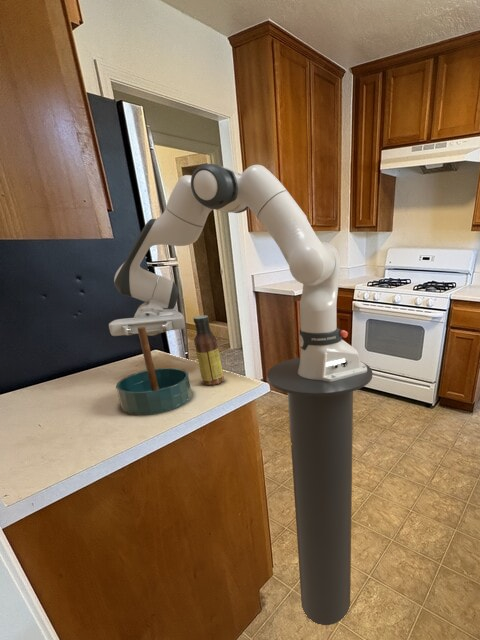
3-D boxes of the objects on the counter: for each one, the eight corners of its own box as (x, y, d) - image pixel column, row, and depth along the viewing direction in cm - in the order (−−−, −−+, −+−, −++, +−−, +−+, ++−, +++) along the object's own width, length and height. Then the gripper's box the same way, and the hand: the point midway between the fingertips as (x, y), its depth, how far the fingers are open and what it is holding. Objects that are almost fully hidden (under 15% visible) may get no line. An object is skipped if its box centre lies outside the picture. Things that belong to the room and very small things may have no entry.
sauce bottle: (224, 377, 109) (215, 313, 102) (224, 384, 104) (214, 317, 96) (202, 379, 108) (191, 315, 100) (200, 387, 102) (189, 319, 95)
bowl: (190, 383, 105) (186, 364, 103) (193, 407, 90) (189, 385, 88) (125, 393, 99) (120, 373, 97) (118, 420, 84) (111, 397, 82)
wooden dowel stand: (167, 392, 98) (153, 324, 90) (167, 400, 93) (152, 328, 86) (147, 396, 96) (130, 326, 88) (145, 403, 91) (128, 331, 84)
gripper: (109, 313, 106) (102, 323, 94) (182, 307, 113) (183, 315, 101) (115, 334, 108) (108, 345, 96) (185, 327, 115) (187, 337, 103)
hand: (147, 330), depth 99 cm, fingers open, 8 cm apart
